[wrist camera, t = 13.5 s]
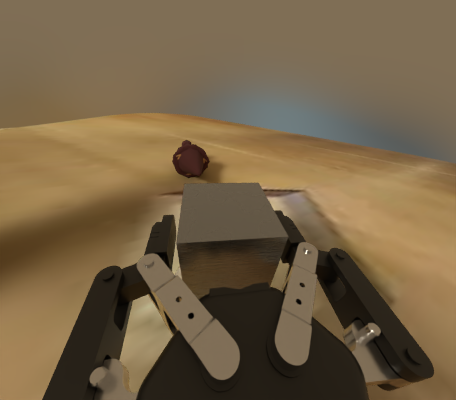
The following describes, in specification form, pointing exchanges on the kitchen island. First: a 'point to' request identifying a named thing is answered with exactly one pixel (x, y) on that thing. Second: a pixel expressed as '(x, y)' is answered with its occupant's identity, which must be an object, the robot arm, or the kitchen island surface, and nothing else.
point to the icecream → (190, 160)
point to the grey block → (227, 237)
